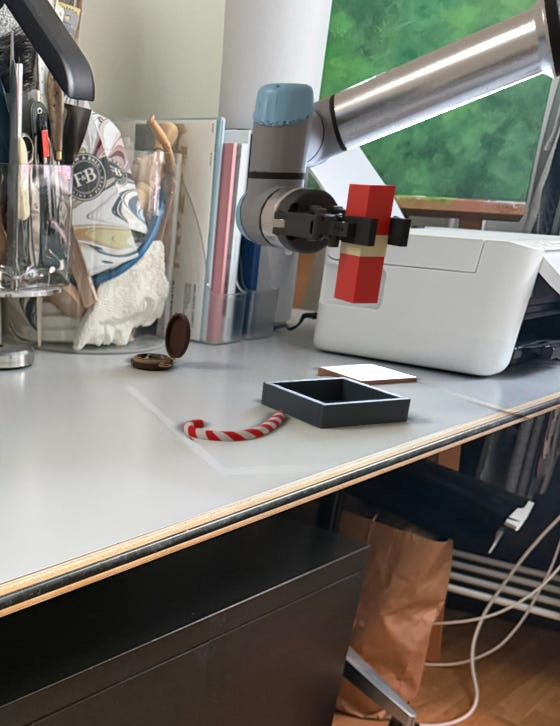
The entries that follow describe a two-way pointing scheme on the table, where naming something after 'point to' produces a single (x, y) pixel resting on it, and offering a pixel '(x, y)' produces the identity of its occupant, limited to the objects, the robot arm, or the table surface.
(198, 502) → the table surface
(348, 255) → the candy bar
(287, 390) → the tray
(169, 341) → the compass
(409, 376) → the board
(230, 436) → the candy cane
